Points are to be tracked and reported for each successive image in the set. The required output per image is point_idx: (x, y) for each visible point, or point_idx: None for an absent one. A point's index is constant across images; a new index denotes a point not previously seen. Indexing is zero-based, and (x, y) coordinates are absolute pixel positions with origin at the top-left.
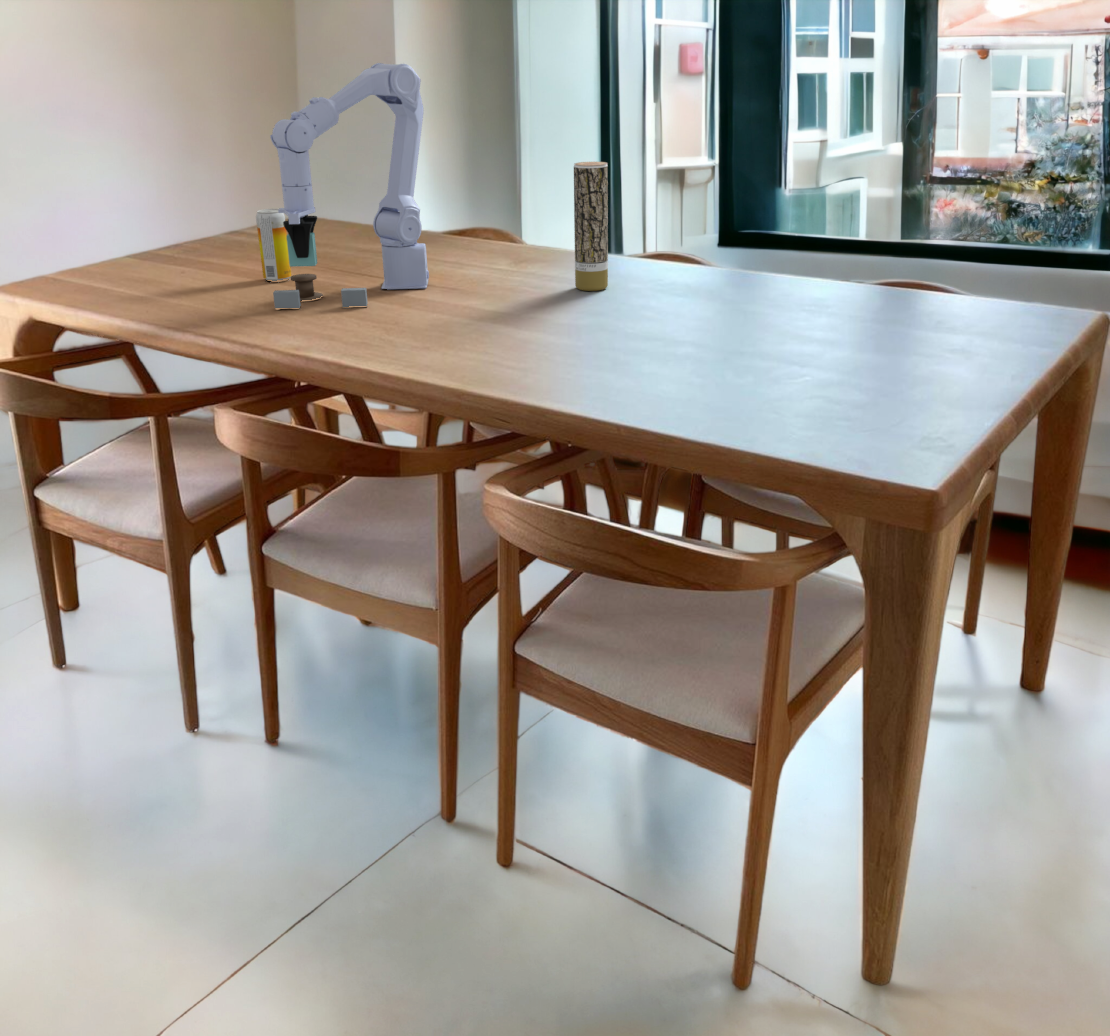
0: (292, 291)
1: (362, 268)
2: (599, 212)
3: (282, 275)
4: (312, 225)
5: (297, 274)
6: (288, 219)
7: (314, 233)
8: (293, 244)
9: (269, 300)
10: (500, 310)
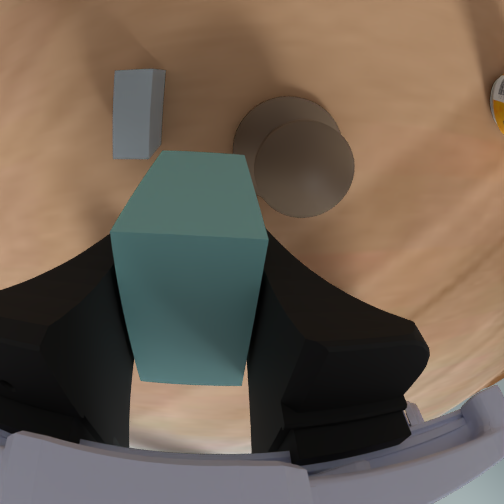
0: (122, 139)
1: (500, 269)
2: None
3: (499, 113)
4: (253, 421)
5: (350, 149)
6: (324, 354)
7: (239, 381)
8: (95, 247)
9: (292, 38)
10: (131, 425)
